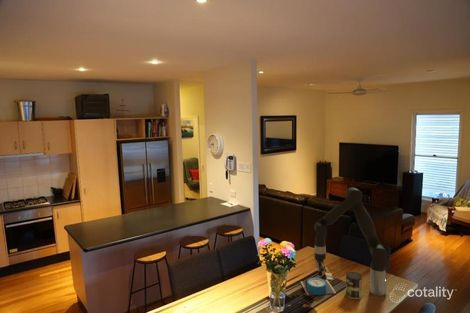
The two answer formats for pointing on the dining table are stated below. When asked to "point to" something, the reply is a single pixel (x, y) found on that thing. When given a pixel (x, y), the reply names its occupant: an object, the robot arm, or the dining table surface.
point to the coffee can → (354, 285)
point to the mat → (328, 291)
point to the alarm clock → (316, 286)
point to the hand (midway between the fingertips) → (320, 275)
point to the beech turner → (328, 274)
